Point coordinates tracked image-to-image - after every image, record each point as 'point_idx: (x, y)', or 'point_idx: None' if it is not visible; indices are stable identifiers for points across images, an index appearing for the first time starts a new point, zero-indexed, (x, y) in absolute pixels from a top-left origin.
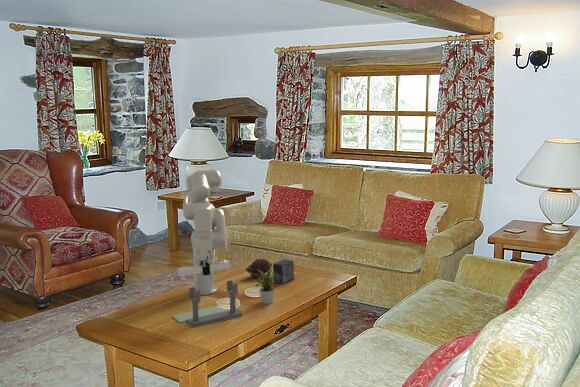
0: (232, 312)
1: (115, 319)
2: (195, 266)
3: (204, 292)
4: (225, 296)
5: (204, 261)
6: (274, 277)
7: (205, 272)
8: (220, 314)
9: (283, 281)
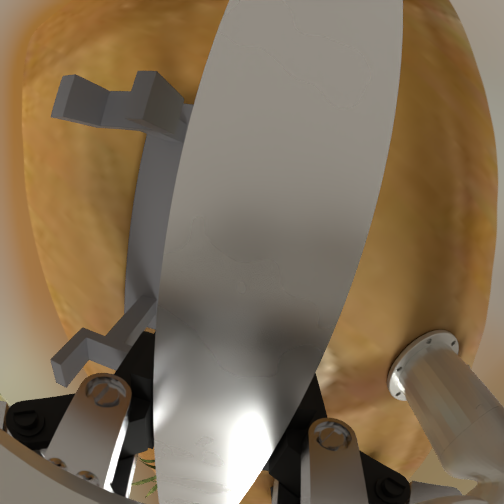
0: (140, 297)
1: (424, 11)
2: (253, 289)
3: (407, 355)
4: (333, 389)
5: (47, 455)
6: (154, 489)
7: (148, 338)
8: (157, 253)
9: (271, 492)
